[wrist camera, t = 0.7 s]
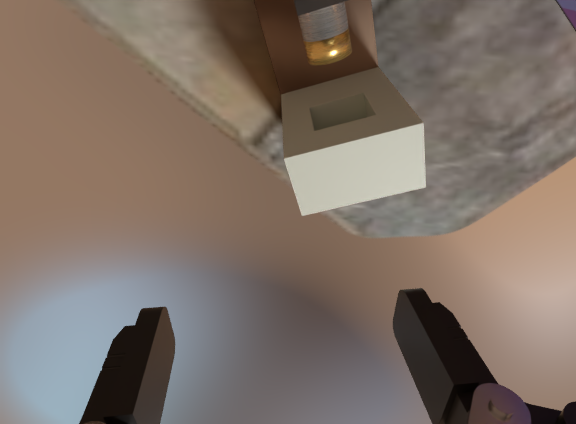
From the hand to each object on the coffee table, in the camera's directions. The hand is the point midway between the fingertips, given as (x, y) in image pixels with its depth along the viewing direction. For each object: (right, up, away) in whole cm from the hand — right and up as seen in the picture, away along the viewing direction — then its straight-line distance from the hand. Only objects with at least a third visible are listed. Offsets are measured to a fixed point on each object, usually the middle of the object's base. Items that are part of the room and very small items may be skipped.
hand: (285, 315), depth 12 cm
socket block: (+4, +14, +22) cm, 27 cm away
